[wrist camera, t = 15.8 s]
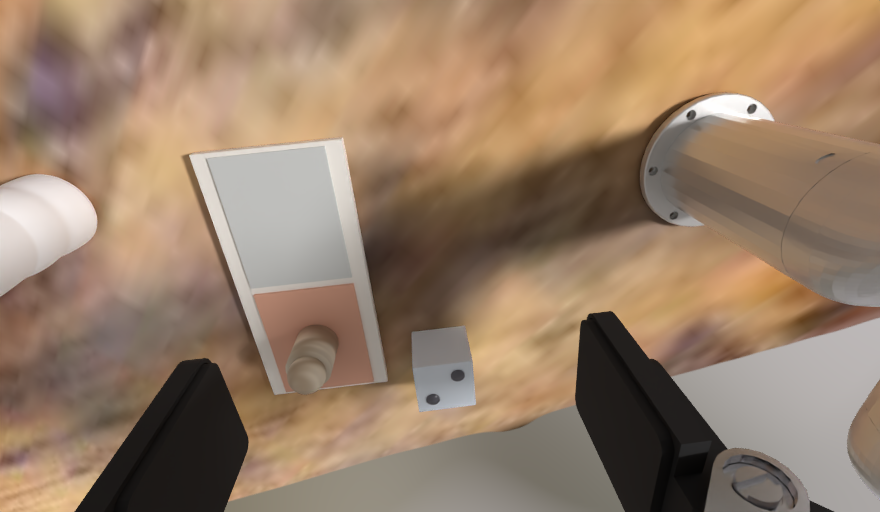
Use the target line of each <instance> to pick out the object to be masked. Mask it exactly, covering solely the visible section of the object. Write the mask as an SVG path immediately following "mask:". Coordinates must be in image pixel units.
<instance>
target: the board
mask: <svg viewBox="0 0 880 512" xmlns="http://www.w3.org/2000/svg"><path fill="white" fill-rule="evenodd" d="M189 157H190V160H191V162H192V165H193V168H194V171H195V174H196V176H197V179H198V182H199V185H200V188H201V190H202V193H203V196H204V199H205V202H206V204H207V207H208V210H209V213H210V216H211V219H212V221H213V224H214V227H215V230H216V233H217V235H218V238H219V241H220V244H221V247H222V249H223V252H224V255H225V258H226V261H227V263H228V266H229V269H230V272H231V275H232V277H233V280H234V283H235V286H236V289H237V291H238V294H239V297H240V300H241V303H242V305H243V308H244V311H245V314H246V317H247V319H248V322H249V325H250V328H251V331H252V334H253V336H254V339H255V342H256V345H257V348H258V350H259V353H260V356H261V359H262V362H263V364H264V367H265V370H266V373H267V376H268V378H269V381H270V384H271V387H272V390H273V392H274V395H278V394H286V393H294V392H295V391H294V390H292V389H291V387H290V386H289V384H288V380H287V374H286V370H285V366H286V363H287V360H288V358H289V355H290V353H291V350H292V348H293V346H294V343H295V341H296V338H297V336H298V334H299V332H300V331H301V330H302V329H303V328H305V327H307V326H310V325H323V326H326V327H328V328H330V329H331V330H333V331H334V332H335V334H336V335H337V337H338V340H339V345H338V349H337V353H336V357H335V361H334V365H333V369H332V373H331V376H330V378H329V380H328V381H327V382H326V383H324V384H323V386H322V387H321V388H320V389H328V388H337V387H345V386H354V385H362V384H371V383H379V382H387V381H388V373H387V368H386V363H385V358H384V352H383V347H382V342H381V336H380V331H379V326H378V320H377V315H376V310H375V304H374V299H373V294H372V289H371V283H370V278H369V273H368V267H367V262H366V257H365V251H364V246H363V241H362V235H361V230H360V225H359V220H358V214H357V209H356V204H355V198H354V193H353V188H352V182H351V177H350V172H349V167H348V161H347V156H346V151H345V145H344V140H343V137H337V138H328V139H318V140H309V141H299V142H289V143H280V144H270V145H261V146H251V147H241V148H232V149H222V150H213V151H203V152H194V153H192V154H190V155H189ZM320 389H319V390H320Z"/></svg>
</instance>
